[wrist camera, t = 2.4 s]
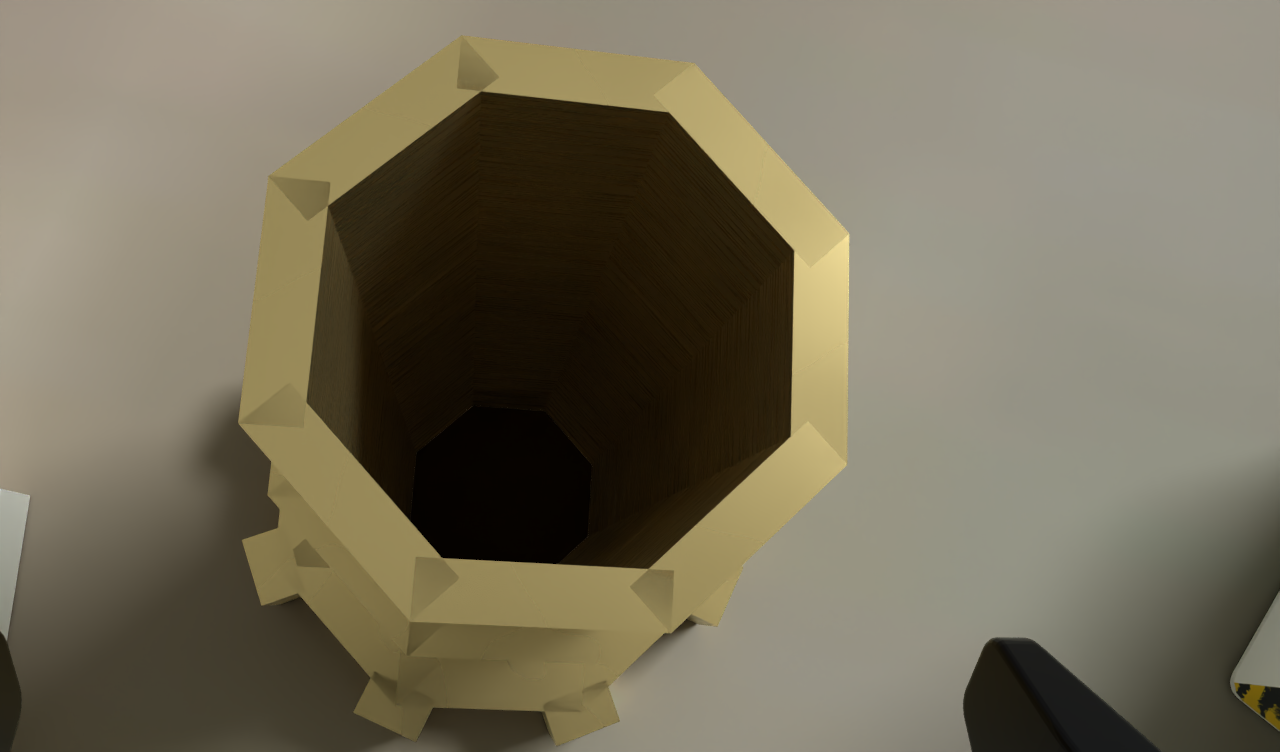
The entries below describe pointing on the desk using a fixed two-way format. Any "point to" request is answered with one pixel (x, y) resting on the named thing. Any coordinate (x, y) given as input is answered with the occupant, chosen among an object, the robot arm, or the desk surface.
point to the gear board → (10, 549)
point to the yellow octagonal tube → (539, 365)
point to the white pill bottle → (1261, 669)
